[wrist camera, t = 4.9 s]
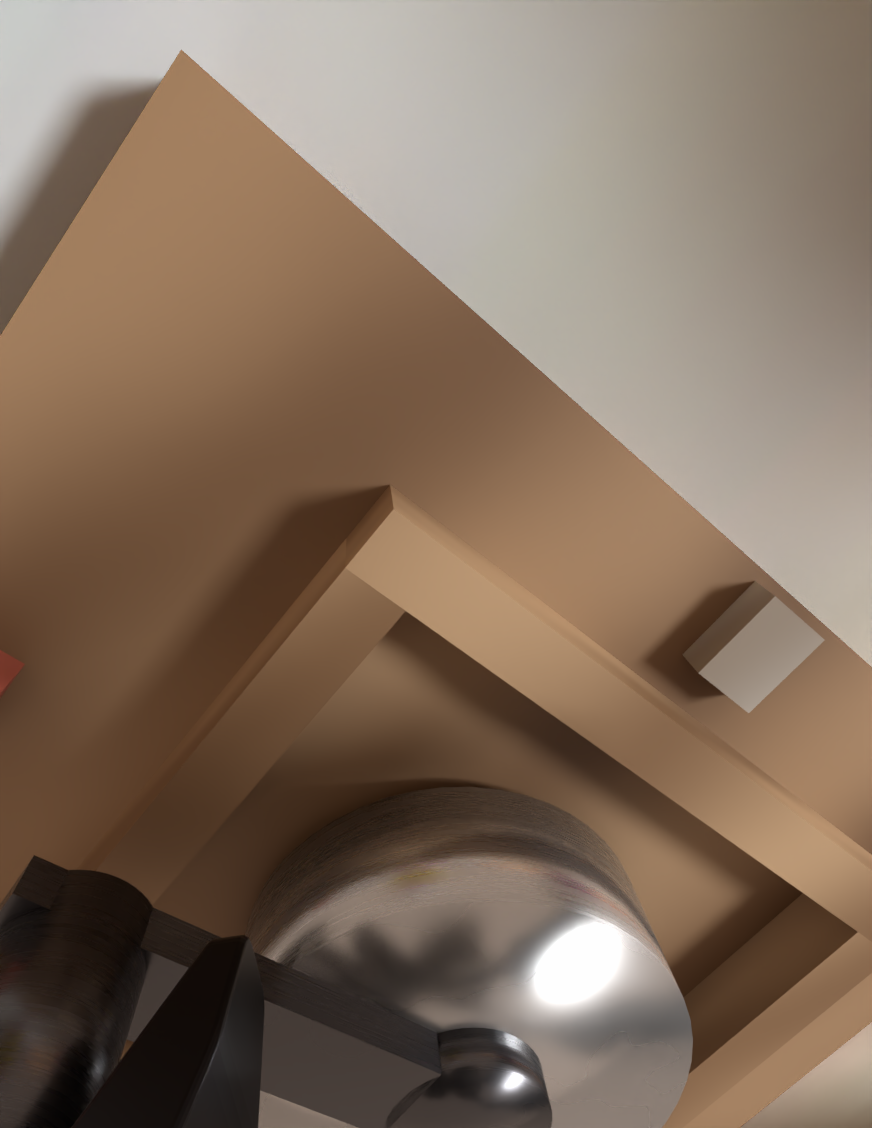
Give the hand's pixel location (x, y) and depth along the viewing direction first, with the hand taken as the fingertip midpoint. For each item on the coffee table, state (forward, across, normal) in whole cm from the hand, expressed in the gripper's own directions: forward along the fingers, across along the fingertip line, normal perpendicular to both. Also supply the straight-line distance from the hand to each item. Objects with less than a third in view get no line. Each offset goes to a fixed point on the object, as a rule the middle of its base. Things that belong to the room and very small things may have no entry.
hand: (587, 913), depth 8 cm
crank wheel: (+4, +3, +3) cm, 6 cm away
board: (+5, +2, +3) cm, 6 cm away
